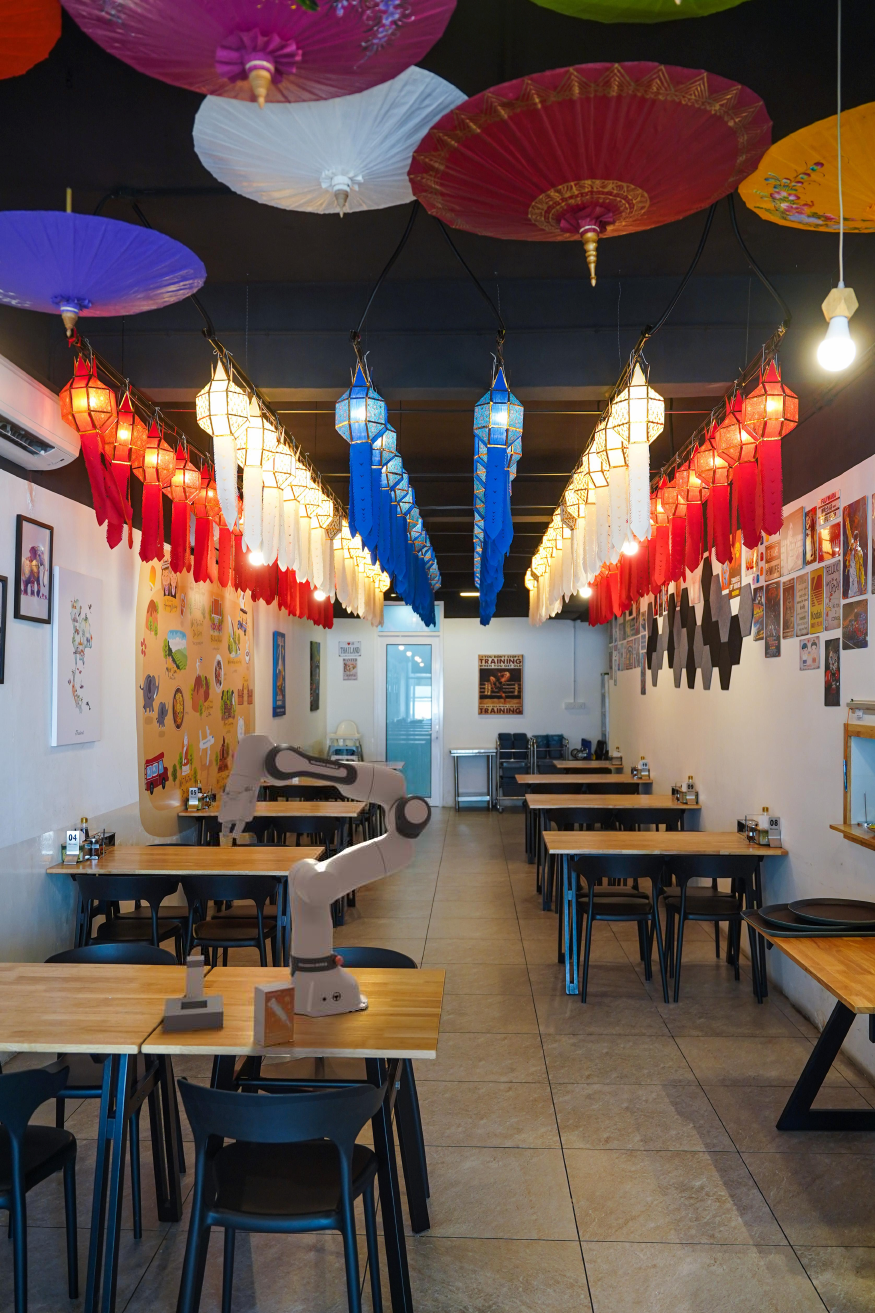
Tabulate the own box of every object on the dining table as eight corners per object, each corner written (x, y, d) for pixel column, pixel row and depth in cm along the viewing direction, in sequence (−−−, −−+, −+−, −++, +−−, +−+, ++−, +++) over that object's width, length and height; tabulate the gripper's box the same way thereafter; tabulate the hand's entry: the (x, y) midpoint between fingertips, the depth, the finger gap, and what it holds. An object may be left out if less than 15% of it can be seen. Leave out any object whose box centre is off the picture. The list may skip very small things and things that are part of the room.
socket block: (222, 1010, 239) (222, 994, 240) (223, 1027, 225) (223, 1011, 226) (165, 1014, 236) (166, 998, 236) (163, 1032, 222) (163, 1016, 222)
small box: (263, 1048, 211) (264, 992, 212) (252, 1040, 216) (253, 985, 217) (294, 1041, 216) (295, 986, 217) (283, 1033, 221) (283, 980, 222)
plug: (203, 999, 249) (204, 955, 250) (203, 1004, 244) (204, 959, 245) (186, 1000, 247) (187, 956, 248) (185, 1005, 243) (186, 960, 244)
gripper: (266, 789, 240) (253, 839, 236) (241, 794, 257) (228, 841, 253) (244, 783, 238) (231, 834, 233) (220, 788, 255) (207, 836, 250)
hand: (229, 838), depth 243 cm, fingers open, 8 cm apart
